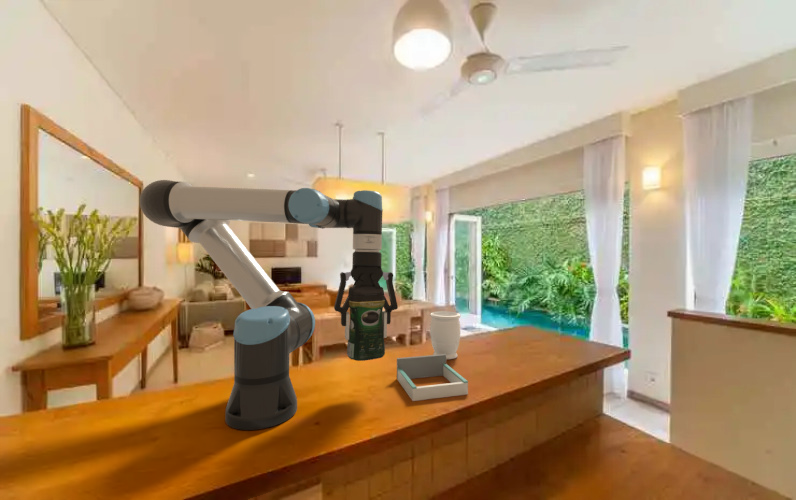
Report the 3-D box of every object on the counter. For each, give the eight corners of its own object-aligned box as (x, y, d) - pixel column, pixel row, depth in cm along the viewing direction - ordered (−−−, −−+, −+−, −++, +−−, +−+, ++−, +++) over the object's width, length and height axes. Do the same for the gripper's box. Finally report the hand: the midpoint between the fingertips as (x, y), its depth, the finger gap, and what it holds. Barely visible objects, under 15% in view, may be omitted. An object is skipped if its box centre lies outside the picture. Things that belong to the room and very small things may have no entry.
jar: (464, 354, 121) (464, 312, 121) (453, 362, 112) (453, 317, 112) (437, 350, 127) (437, 310, 127) (424, 357, 118) (424, 314, 118)
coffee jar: (377, 350, 94) (378, 283, 94) (388, 359, 87) (389, 286, 87) (343, 354, 90) (344, 284, 90) (351, 363, 83) (352, 287, 83)
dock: (412, 401, 84) (412, 376, 84) (396, 378, 98) (396, 358, 98) (467, 394, 88) (467, 371, 88) (444, 373, 102) (444, 354, 102)
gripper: (325, 250, 82) (323, 343, 82) (411, 251, 88) (409, 338, 88) (323, 250, 89) (322, 336, 89) (403, 251, 95) (401, 332, 95)
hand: (365, 337), depth 88 cm, fingers closed on coffee jar, 9 cm apart
